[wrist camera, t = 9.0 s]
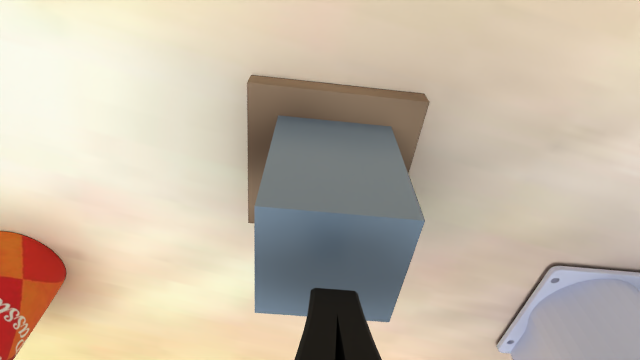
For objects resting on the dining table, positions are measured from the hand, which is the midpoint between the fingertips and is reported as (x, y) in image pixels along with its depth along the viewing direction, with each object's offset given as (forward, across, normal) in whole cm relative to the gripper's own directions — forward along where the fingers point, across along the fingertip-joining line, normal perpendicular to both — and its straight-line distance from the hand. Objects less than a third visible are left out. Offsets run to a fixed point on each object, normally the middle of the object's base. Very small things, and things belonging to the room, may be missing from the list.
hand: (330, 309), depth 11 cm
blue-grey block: (+8, 0, 0) cm, 8 cm away
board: (+9, 0, 0) cm, 9 cm away
